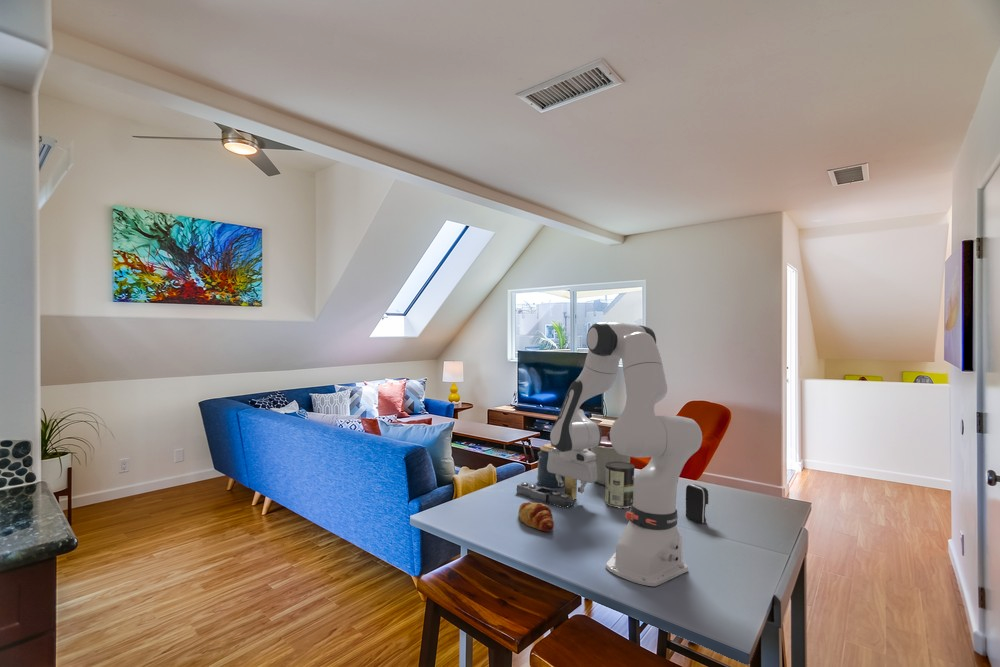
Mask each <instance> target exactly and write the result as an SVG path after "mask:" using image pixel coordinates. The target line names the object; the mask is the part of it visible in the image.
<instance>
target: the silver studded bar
mask: <svg viewBox="0 0 1000 667" xmlns="http://www.w3.org/2000/svg"><path fill="white" fill-rule="evenodd" d="M516 494H518V495H521V496H523V497H524V496H525V497H528V498H530V499H531V500H534V501H537V502H539V501H540V503H542V504H549V503H551V504H550V505H553V504H555V505H554V506H556V505H558V506H557V507H559V506H561V507H560V508H562V507H564V508H563V509H566V508H565V507H567V506H569V505H571V504H573V503H574V500H573V496H570V495H567V494H564V493H562V492H561V491H558V490H556V489H553V488H551V487H547V486H543V485H541V486H539V485H536V484H532V483H529V482H525V481H524V482H521V483H519V484H516ZM547 502H548V503H547ZM571 506H572V505H571ZM569 507H570V506H569ZM567 508H568V507H567Z"/></svg>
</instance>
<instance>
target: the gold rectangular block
mask: <svg viewBox="0 0 1000 667" xmlns="http://www.w3.org/2000/svg"><path fill="white" fill-rule="evenodd" d="M577 485H578V480H576V479H573V478H569V477H565V486H564V493H563V494H567V495H570V496H573V499H576V500H577V495H578V494H577V492H578V486H577Z"/></svg>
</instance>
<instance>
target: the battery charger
mask: <svg viewBox="0 0 1000 667" xmlns="http://www.w3.org/2000/svg"><path fill="white" fill-rule="evenodd" d="M707 505H709V491H708V489H707V488H706V487H704V486H702V485H698V484H697V483H696V484H695V483H692V484H688V485H686V488H685V517H686V518H687V519H690V520H692V521H694V522H695V523H698V524H704V523H706V522H707V518H706V506H707Z"/></svg>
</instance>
